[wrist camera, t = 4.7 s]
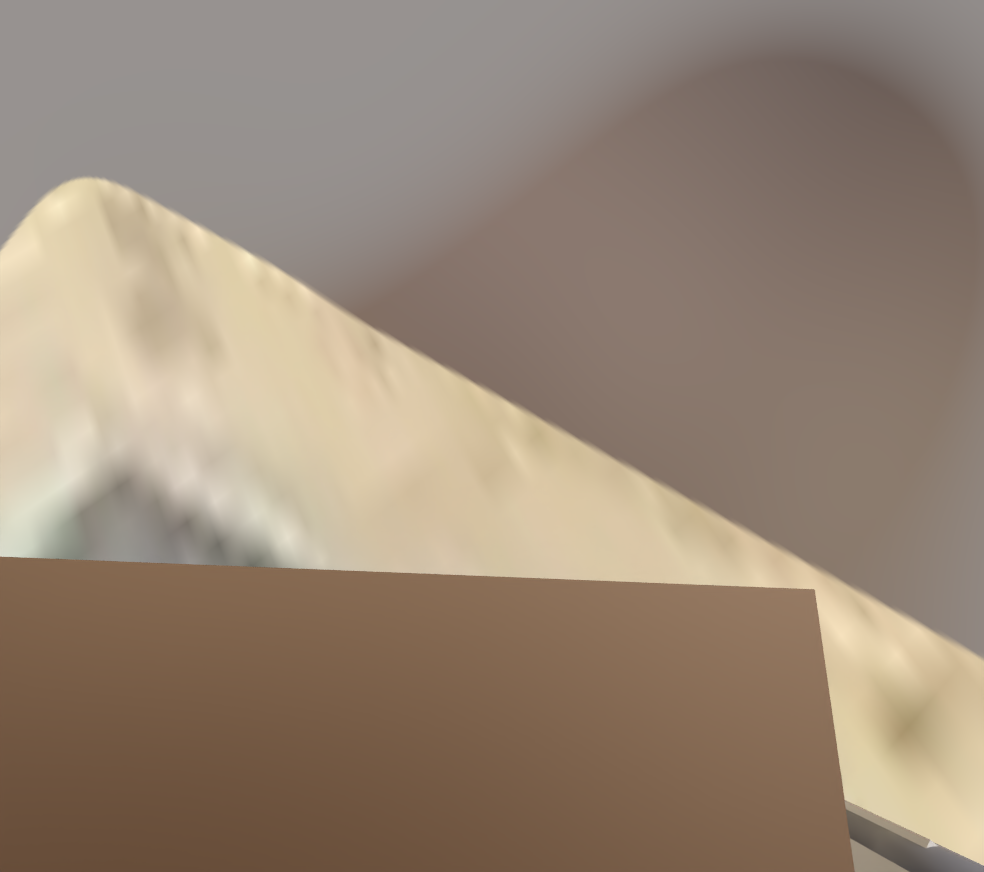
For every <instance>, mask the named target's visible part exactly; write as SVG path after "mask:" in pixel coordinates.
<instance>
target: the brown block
mask: <svg viewBox="0 0 984 872" xmlns="http://www.w3.org/2000/svg"><path fill="white" fill-rule="evenodd" d="M0 872H855V870H854V863H853V856H852V849H851V842H850V835H849V828H848V821H847V814H846V807H845V800H844V793H843V786H842V779H841V772H840V765H839V758H838V751H837V744H836V737H835V730H834V723H833V716H832V709H831V702H830V695H829V688H828V681H827V674H826V667H825V660H824V653H823V646H822V639H821V632H820V624H819V617H818V610H817V603H816V596H815V590H814V589H789V588H764V587H739V586H714V585H689V584H664V583H640V582H615V581H590V580H565V579H540V578H515V577H490V576H465V575H441V574H416V573H391V572H366V571H341V570H316V569H291V568H267V567H242V566H217V565H192V564H167V563H142V562H117V561H93V560H68V559H43V558H18V557H0Z"/></svg>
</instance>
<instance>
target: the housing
mask: <svg viewBox="0 0 984 872" xmlns="http://www.w3.org/2000/svg"><path fill="white" fill-rule="evenodd" d="M845 807H846V814H847V821H848V828H849V835H850V842H851V849H852V856H853V863H854V870H855V872H984V866H983V865H981V864H979V863H977V862H974V861H972V860H970V859H968V858H966V857H964V856H962V855H959V854H957V853H955V852H953V851H951V850H949V849H947V848H944V847H942V846H940V845H938V844H936V843H934V842H932V841H931V840H929V839H927V838H925V837H923V836H921V835H919V834H917V833H914V832H912V831H910V830H908V829H906V828H904V827H902V826H899V825H897V824H895V823H893V822H891V821H889V820H886V819H884V818H882V817H880V816H878V815H876V814H874V813H871V812H869V811H867V810H865V809H863V808H861V807H859V806H856V805H854V804H852V803H850V802H848V801H846V800H845Z"/></svg>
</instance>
